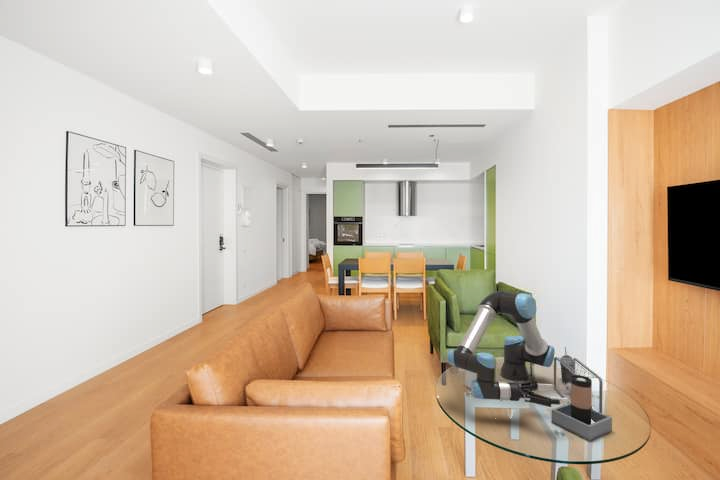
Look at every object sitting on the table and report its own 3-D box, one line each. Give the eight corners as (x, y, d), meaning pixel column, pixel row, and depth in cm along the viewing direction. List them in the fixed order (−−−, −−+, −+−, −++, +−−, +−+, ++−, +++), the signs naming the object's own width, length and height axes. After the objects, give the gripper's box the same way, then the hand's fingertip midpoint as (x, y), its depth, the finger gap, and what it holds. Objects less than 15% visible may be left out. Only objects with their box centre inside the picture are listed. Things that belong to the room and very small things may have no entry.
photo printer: (463, 386, 191) (464, 363, 190) (468, 384, 193) (468, 362, 193) (480, 393, 182) (480, 369, 182) (485, 391, 185) (485, 367, 185)
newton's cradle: (602, 417, 158) (603, 378, 158) (577, 415, 160) (577, 376, 160) (574, 389, 188) (574, 356, 188) (553, 388, 190) (553, 355, 190)
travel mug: (566, 420, 153) (566, 375, 153) (582, 420, 154) (583, 374, 154) (578, 430, 146) (579, 382, 146) (595, 429, 146) (596, 381, 146)
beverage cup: (569, 387, 191) (569, 350, 191) (556, 382, 197) (557, 346, 197) (577, 384, 194) (577, 348, 194) (564, 379, 201) (564, 345, 201)
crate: (573, 414, 161) (573, 401, 161) (611, 432, 146) (612, 417, 146) (551, 422, 153) (551, 409, 153) (589, 441, 139) (589, 426, 139)
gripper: (500, 387, 166) (548, 390, 163) (517, 413, 141) (573, 417, 139) (500, 372, 166) (548, 374, 163) (517, 395, 141) (573, 398, 139)
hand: (559, 394), depth 151 cm, fingers open, 13 cm apart
